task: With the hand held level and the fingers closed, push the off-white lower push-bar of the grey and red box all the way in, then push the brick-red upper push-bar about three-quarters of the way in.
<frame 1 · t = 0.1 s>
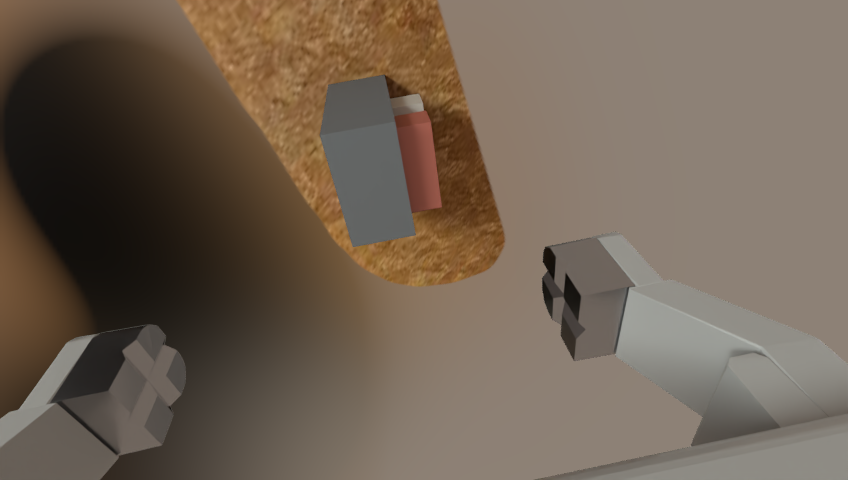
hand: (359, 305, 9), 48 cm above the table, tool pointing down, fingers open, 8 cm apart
pale button: (410, 142, 51), point 7 cm above the table, slide at 0.0 cm
red button: (416, 163, 46), point 13 cm above the table, slide at 0.0 cm
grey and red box: (367, 129, 56), on the table
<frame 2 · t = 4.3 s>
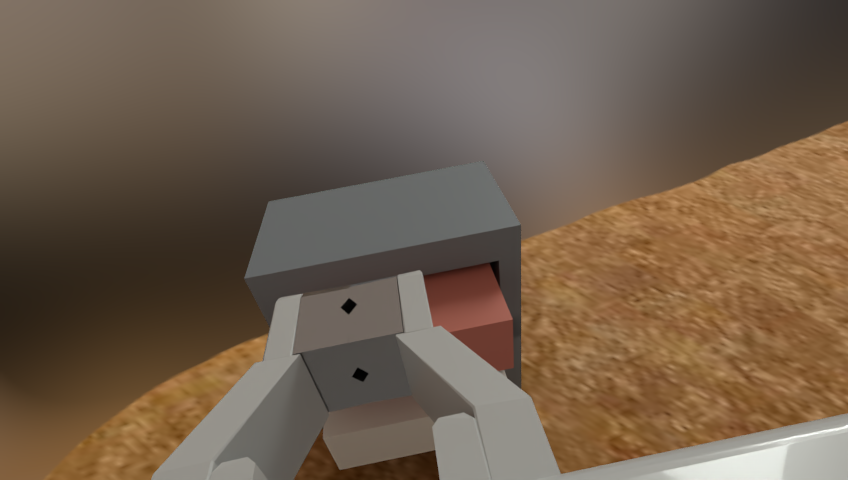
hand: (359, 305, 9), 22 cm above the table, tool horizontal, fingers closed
pale button: (419, 402, 24), point 6 cm above the table, slide at 0.0 cm
red button: (401, 333, 21), point 12 cm above the table, slide at 0.0 cm
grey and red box: (423, 392, 32), on the table
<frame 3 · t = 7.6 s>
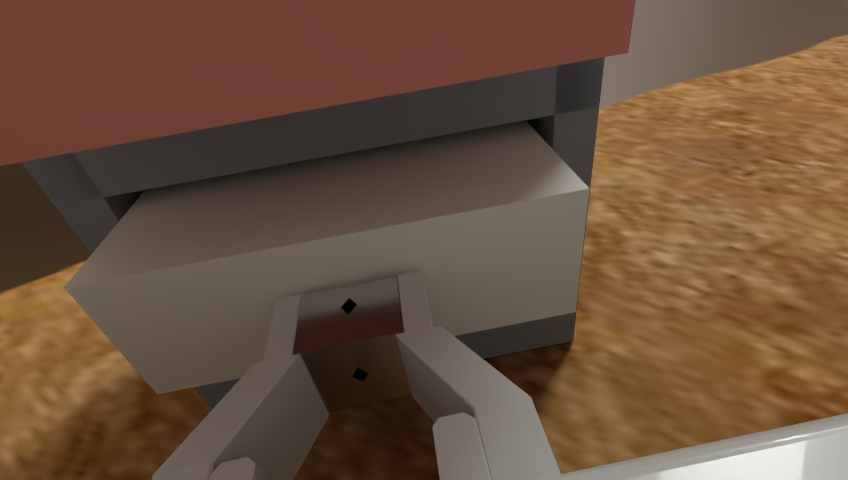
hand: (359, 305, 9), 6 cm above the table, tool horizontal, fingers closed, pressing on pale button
pale button: (352, 246, 11), point 7 cm above the table, slide at 0.7 cm, touching gripper
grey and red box: (389, 307, 18), on the table
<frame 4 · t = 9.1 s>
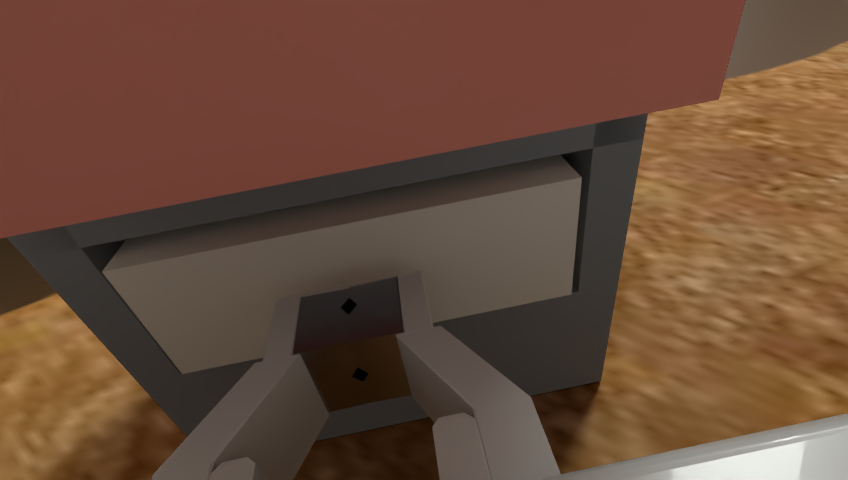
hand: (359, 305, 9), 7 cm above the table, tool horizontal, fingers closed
pale button: (362, 235, 11), point 7 cm above the table, slide at 3.1 cm
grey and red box: (398, 339, 17), on the table
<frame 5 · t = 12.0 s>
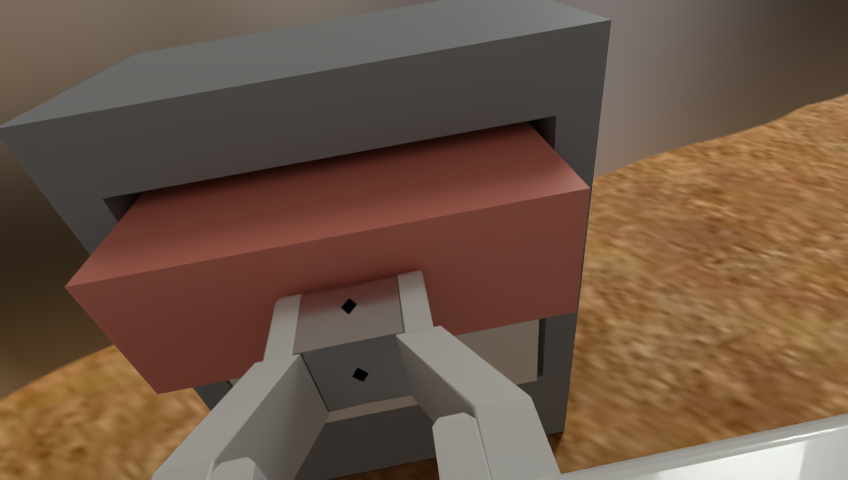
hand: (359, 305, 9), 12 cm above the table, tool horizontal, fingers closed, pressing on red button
pale button: (390, 334, 16), point 6 cm above the table, slide at 3.1 cm
red button: (353, 245, 11), point 12 cm above the table, slide at 0.8 cm, touching gripper
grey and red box: (411, 391, 21), on the table
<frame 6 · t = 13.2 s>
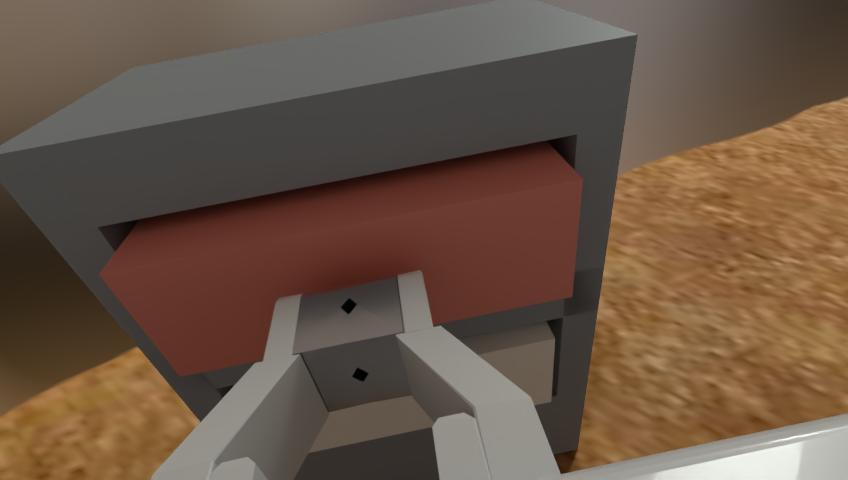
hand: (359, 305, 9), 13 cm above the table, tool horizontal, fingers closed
pale button: (398, 355, 15), point 6 cm above the table, slide at 3.1 cm
red button: (361, 236, 11), point 12 cm above the table, slide at 2.2 cm
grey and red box: (418, 407, 21), on the table
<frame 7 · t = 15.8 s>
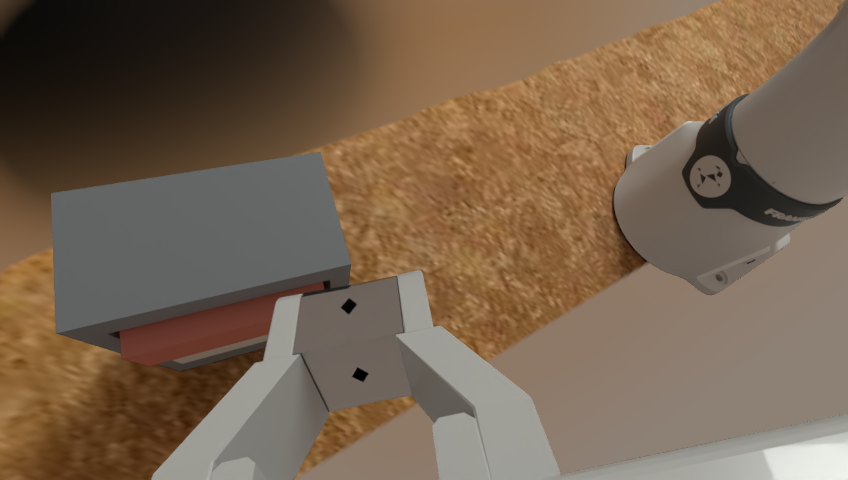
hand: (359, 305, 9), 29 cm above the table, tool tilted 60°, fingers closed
pale button: (248, 311, 30), point 7 cm above the table, slide at 3.1 cm
red button: (232, 301, 24), point 12 cm above the table, slide at 2.2 cm
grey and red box: (258, 307, 36), on the table
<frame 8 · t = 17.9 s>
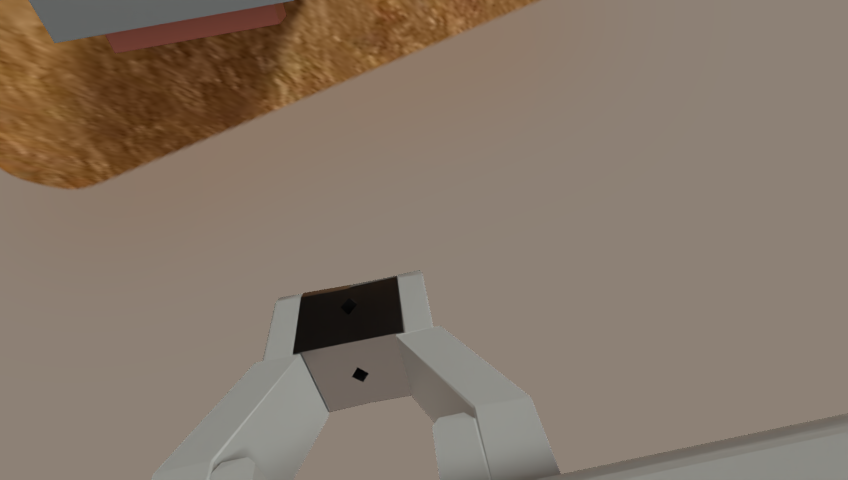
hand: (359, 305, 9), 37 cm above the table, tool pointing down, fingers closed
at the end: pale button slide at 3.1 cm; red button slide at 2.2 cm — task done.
